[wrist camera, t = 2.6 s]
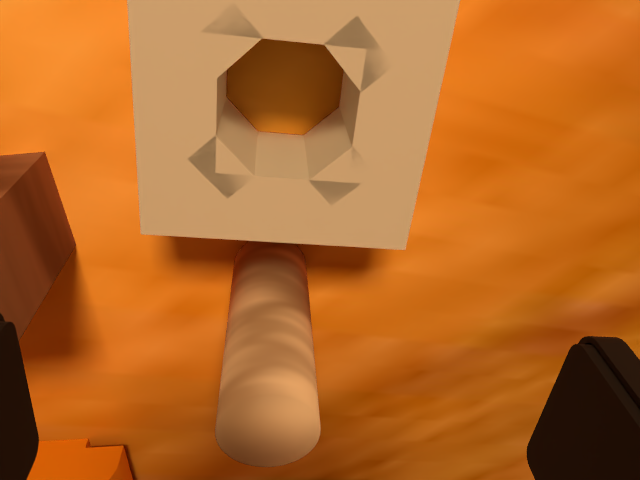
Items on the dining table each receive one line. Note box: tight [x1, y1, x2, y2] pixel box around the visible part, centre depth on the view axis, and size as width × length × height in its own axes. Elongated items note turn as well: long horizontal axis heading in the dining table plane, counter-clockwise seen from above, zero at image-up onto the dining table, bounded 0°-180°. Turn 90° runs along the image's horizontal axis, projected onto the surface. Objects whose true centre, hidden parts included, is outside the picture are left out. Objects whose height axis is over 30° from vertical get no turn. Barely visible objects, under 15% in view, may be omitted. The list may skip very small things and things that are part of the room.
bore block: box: [127, 0, 460, 250], centre depth 25 cm, size 12×12×6 cm
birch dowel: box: [215, 241, 321, 467], centre depth 27 cm, size 4×4×12 cm
